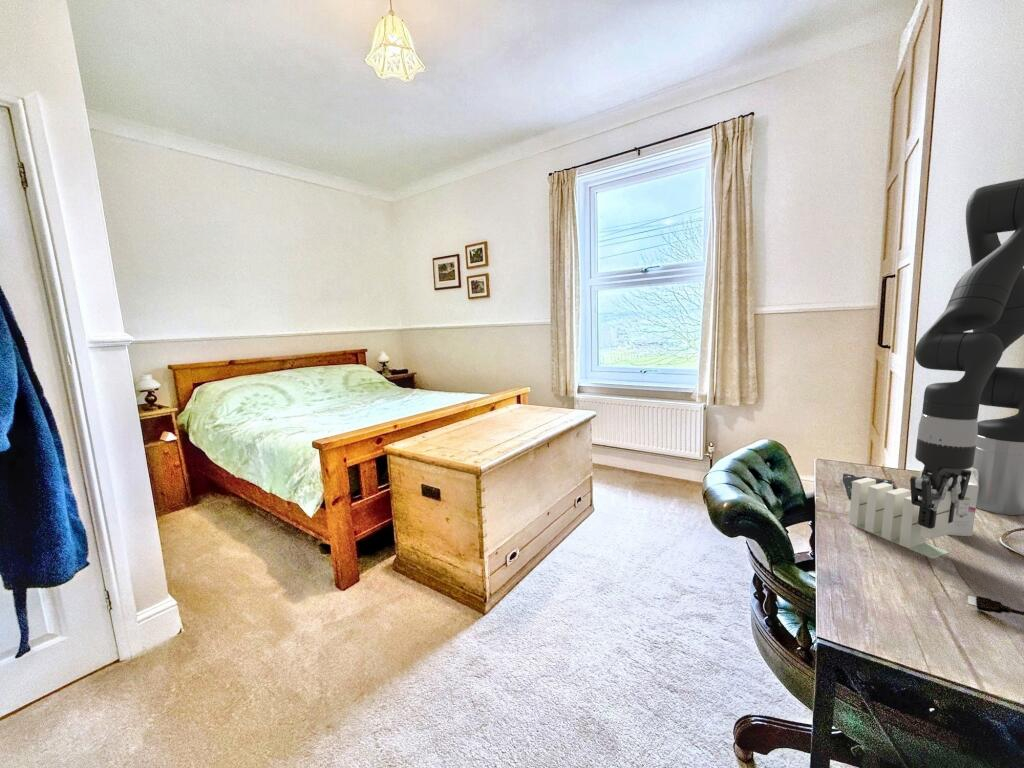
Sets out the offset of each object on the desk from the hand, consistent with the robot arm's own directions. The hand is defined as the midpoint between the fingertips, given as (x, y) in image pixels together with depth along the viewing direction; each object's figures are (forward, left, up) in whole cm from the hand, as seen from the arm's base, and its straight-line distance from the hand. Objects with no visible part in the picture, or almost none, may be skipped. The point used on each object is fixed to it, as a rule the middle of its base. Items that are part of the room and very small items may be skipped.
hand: (935, 523), depth 78 cm
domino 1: (0, -13, -6) cm, 14 cm away
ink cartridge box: (-14, -5, -7) cm, 16 cm away
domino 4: (0, -3, -6) cm, 7 cm away
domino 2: (0, -9, -6) cm, 11 cm away
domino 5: (0, 0, -2) cm, 2 cm away
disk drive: (-19, -22, -7) cm, 30 cm away
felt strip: (0, -6, -6) cm, 9 cm away
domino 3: (0, -6, -6) cm, 9 cm away
